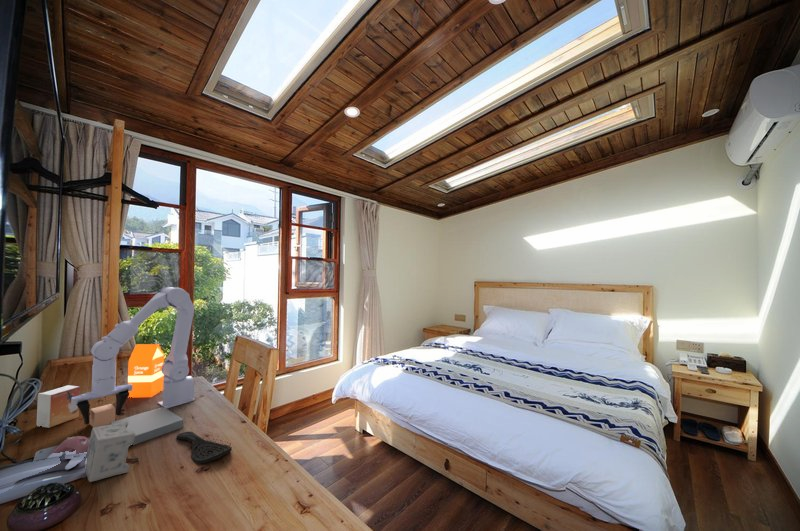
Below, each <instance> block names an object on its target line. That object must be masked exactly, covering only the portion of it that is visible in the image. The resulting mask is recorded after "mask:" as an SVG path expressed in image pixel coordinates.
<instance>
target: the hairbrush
mask: <svg viewBox="0 0 800 531" xmlns="http://www.w3.org/2000/svg"><path fill="white" fill-rule="evenodd" d="M212 438H213V437H212ZM212 438H211V440H209V439H208V440H206V439H205V437H200V436H199V435H197V434H196V433H194V432H193V431H185V432H184V431H183V432H181V433H178V434H177V435H176V439H178V440H187V441H189V442H191V443H192V446H191V451H190V452H191V454H190V457H191V459H192V460H193V461H192V462H195V463H196V464H205V463H209V462H211V461H213V460H216V459H218V458H220V457H223V456H225V455H227V454H229V453H230V452H232V451H233V450H232V446H231V443H230V442H228V441H226V443H222V440H220V442H218V441H219V439H216V440H215V438H213V439H212Z"/></svg>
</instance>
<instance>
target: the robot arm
mask: <svg viewBox="0 0 800 531" xmlns="http://www.w3.org/2000/svg"><path fill="white" fill-rule="evenodd" d="M170 306H171V307H172V309H174V310H175V311H176V312H177V313H176V314H177V315H176V318H175V325H174V330H173V334H172V335H173V336H172V339H171V345H170V351H169V354H168V355H167V356H166V359H165V361H164V364H163V366H162V373H163V374H164V379H163V390H162V400H161V401H157V404H158V405H160V406H161V407H165V408H166V409H170V408H174V407H177V406H181V405H183V404H187V403H191V402H193V401H195V400H196V399H195V380H194V378H193V376H192V375H189V373H190V368H189V365H188V364H189V359H188V355H187V353H188V352H187V350H188V346H189V341H190V335H191V330H192V324H193V320H194V319H193V318H194V313H195V305H194V303H193V302H192V299H191V296H190V293H189V292H187V291H186V290H185V289H183V288H181V287H174V286H166V287H164V288H162V289H161V290H160V292H157V293H156V294H155V295H153V297H151V299H150V300H149V301H147V302H146V304H144V306H142V308H140V309H139V310H138V311H137V312H136V313H135V314H134V315H133V316H132V317H131V318H130V319H129V320H125V321H124V320H123V321H121V322H120V323H116V324H115V325H114V328H113V329H112V330H111V331H110V332H109V333H108V334H107V335H105V336H102V337H101V340H99V341H97V342H95V343H94V344H93V346H92V347H91V349H90V354H91V355H92V356H93V359H92V366H91V367H92V368H91V391H89V392H85V393H82V394H80V395H79V396H75V397H72V398H71V404H72V405H75V404H76V405H77V406H78V408H79V412H80V414H82V418H83V423H84V425H89V424H90V410H91V408H90V407H91V404H90V402H89V401H91V400H96V399H99V398H105V397H108V396H112V395H115V402H116V404H115V407H116V410H115V415H116V416H121V414H122V413H121V412H122V410H123V407H124V405H125V403H126V401H127V399H129V398H128V396H129V392H128V391H132V388H133V385H132V384H128V383H126V384H123V385H116V384H117V383H116V381H117V380H116V377H117V376H116V374H117V361H116V360H117V359H116V357H117V355H119V352H120V349H121V348H122V347H124V345H125V344H126V343H127V342H128V341H129V340H131V339H132V338H133V337H134V336H135V335H136V334H137V333H138V332H139V326H140V325H141V324H143V323H144V322H145V321H147V319H148V318H149V317H151V316H152V315H153V314H154V313H155V312H156V311H157V310H160V309H163V308H168V307H170Z"/></svg>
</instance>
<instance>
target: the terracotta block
mask: <svg viewBox="0 0 800 531" xmlns="http://www.w3.org/2000/svg"><path fill="white" fill-rule="evenodd" d="M114 421H116V406H115V405H113V404H112V403H109V404H105V405H100V406H97V407H93V408H90V411H89V424H90V426H91V427H92V428H93V427H99V426H105V425H110V422H114Z"/></svg>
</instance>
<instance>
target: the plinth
mask: <svg viewBox="0 0 800 531" xmlns="http://www.w3.org/2000/svg"><path fill="white" fill-rule="evenodd" d="M123 422H128V426H127V430H128V431H129V432H135V440H134V442H133V446H135V445H137V444H141V443H144V442H146V441H149V440H151V439H152V440H153V439H154V438H157V437H160V436H163V435H165V434H167V433H171V432H174V431H176V430H179V429H182V428H184V419H183V418H182V417H180V416H178V414H176V413H174V412H172V411H171V410H169V408H167V409H166V408H165V407H163V406H161V407H158V408H155V409H151V410H147V411H144V412H140V413H137V414H134V415H131V416H128V417H124V418H121V419H117V420H115V421H114V422H110V424H109V425H111V424H116V423H123Z"/></svg>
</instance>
